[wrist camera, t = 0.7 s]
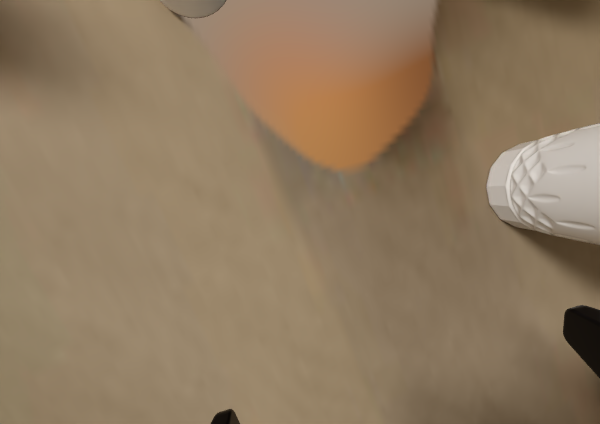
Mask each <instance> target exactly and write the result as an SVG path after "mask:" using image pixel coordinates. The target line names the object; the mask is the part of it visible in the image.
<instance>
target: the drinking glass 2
mask: <svg viewBox="0 0 600 424" xmlns="http://www.w3.org/2000/svg"><path fill="white" fill-rule="evenodd" d="M160 1H161V2H162V3H163V4H164V5H165V6H166V7H167V8H168V9H170V10H171V11H173V12H175V13H176V14H179V15H181V16H184V17H188V18H202V17H206V16H209V15H211V14H213V13H215V12H216V11H218V10H219V9H220V8H221V7H222V6H223V4H224V3H225V2H226V0H160Z"/></svg>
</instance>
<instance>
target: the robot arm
mask: <svg viewBox="0 0 600 424" xmlns="http://www.w3.org/2000/svg"><path fill="white" fill-rule="evenodd" d="M563 335H564V337H565V339H566V341H567V342H568V343H569V345H570V346H571V347H572V348H573V349H574V350H575V351H576V352H577V353H578V355H579V356H580V357H581V358H582V359H583V360H584V361H585V362H586V364H587V365H588V366H589V367H590V368H591V369H592V370H593V371H594V372H595V374H596V375H597V376H598V377H599V378H600V310H598V309H595V308H592V307H588V306H584V305H580V306H576V307H572V308H569V309H567V310H566V311H565V315H564V326H563ZM211 424H240V423H239V421H238V418H237V416H236V414H235V412H234V411H233V410H232V409H228V410H225V411H222V412H219V413H217V414H216V415H215V416H214V418H213V420H212V422H211Z"/></svg>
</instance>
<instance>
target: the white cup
mask: <svg viewBox="0 0 600 424" xmlns="http://www.w3.org/2000/svg"><path fill="white" fill-rule="evenodd" d="M486 187H487V193H488V199H489V204H490V206H491V207H492V209H493V210H494V211H495V213H496V214H497V216H498V217H499V218H500V219H501V220H503V221H505V222H507V223H509V224H511V225H513V226H515V227H518V228H524V229H529V230H535V231H539V232H542V233H545V234H549V235H553V236H558V237H564V238H567V239H571V240H576V241H580V242H585V243H591V244H596V245H600V123H597V124H593V125H589V126H585V127H581V128H577V129H574V130H570V131H567V132H563V133H558V134H554V135H551V136H548V137H545V138H542V139H539V140H535V141H531V142H526V143H522V144H518V145H516V146H514V147H512V148H510V149H509V150H507V151H505V152H503V153H502V154H501V155H500V156H499V158H498V159H497V160H496V162H495V163H494V164H493V165H492V167H491V169H490V173H489V177H488V181H487V185H486Z"/></svg>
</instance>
